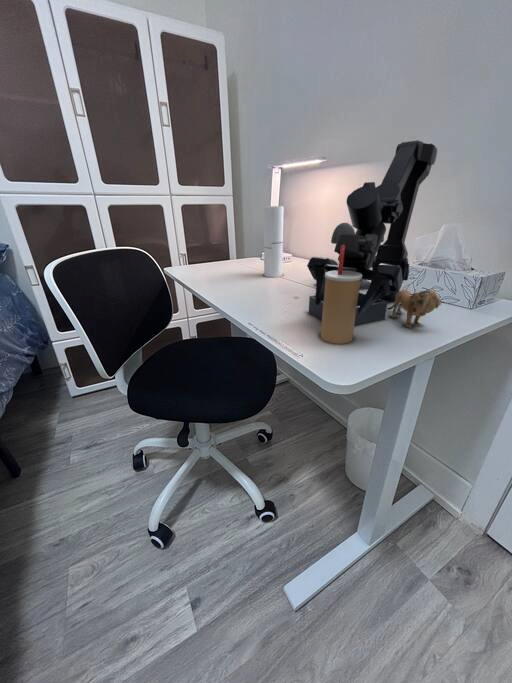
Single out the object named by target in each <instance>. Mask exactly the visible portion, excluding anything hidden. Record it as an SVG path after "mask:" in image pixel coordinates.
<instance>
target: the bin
mask: <svg viewBox="0 0 512 683" xmlns="http://www.w3.org/2000/svg"><path fill="white" fill-rule="evenodd" d="M365 295H366V293H364V292H361V291H359V294H358V301H357V308H356V316H355V323H354V327H355V326H360V325H363V324H368V323H374V322H379V321H383V320H385V319H386V314H387V310H388V309H387V308H388V303H389V302H387V301H384V300H381V299H378V300H377V301H376V302H374V303H373V304H372V305H371V306H370V307H369V308H367V309H366V310H365V311H364V312H363V313H362V314H359V313H358V310H359V307H360V304H361V302H362V300H363V298H364V297H365ZM315 297H316V294H315V295H309V296H308V298H309V299H308V314H309V315H311V316H314V317H315V318H317V319H319V320H321V321H322V314H323V303H324V297H323V299H322V301H321V302H320V303H319V305H316V304H315Z"/></svg>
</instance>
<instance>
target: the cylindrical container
mask: <svg viewBox="0 0 512 683" xmlns="http://www.w3.org/2000/svg"><path fill="white" fill-rule="evenodd" d="M284 208H285V207H284V206H282V205H272V206H269V205H267V206H266V205H265V206H263V246H264V247H263V273H264V274H263V276H264V277H268V278H279V277H282V276H283V256H284V255H283V251H284V250H283V249H284V243H283V242H284V212H285V211H284Z"/></svg>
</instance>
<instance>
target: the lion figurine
mask: <svg viewBox="0 0 512 683" xmlns="http://www.w3.org/2000/svg"><path fill="white" fill-rule="evenodd" d="M442 303H443V300H441V299H440V298H439V297H438V295H437V291H436V290H434V289H427V290H422V291H419V292H415V293H413V294H411V293H410V291H409V290H407V289H402V290H399V292H398V293H397V295H396V298H395V301H394V304H393V305H392V306H389V307H387V309H386V310H388V311H391V310H392V314H391V316H390V318H393V319H395V318H397V315H396V313H397V314H401V315H402V314H403V311H402V309H403V310H404V311H406V321H405V325H404V326H405V328H412V319H413V316H414V319H413V325H414V326H416V327H420V326H421V323H420V322H419V319H420V318H421V317H425V316H426V314H430V313H431V312H433V311H434V310H438V308H439V307H440V306H441V305H442Z"/></svg>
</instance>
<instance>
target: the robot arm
mask: <svg viewBox="0 0 512 683" xmlns="http://www.w3.org/2000/svg"><path fill="white" fill-rule="evenodd" d="M437 156H438V148H437V147H436V145H435V144H433V143H426V142H423V141H422V140H419V139H418V140H412V141H411V140H410V141H402V142H401V143H398V144H397V146H396V149H395V154H394V157H393V159H392V160H391V163H390V164H389V166H388V168H387V171H386V172H385V175H384V177H383V178H382V181H381V182H380V184H378V186H376V182H375V181H369V182H368V181H367V182H364V183H363V185H362V186H360V187H358V188H356V189H354V190H353V191H352V192H351V193H350V194H348V195H347V197H346V206H347V210H348V213H349V218H350V221H351V226H352V227H353V229H356V231H355V235H347V234H340V235H339V236H338V239H337V243H336V244H335V247H334V250H333V251H334V253H336V254H338V257H337V259H338V261H339V259H340V249H341V245H345V253H344V262H343V270H347V271H355V272H358V273H361V274H362V279H363V280H367V281H369V282H371V284H370V287H369V289H367V291H366V293H365V294H366V295H365V297H364V298H363V300H362V302H361V304H360V307H359V310H358V313H359V314H362V313H363V312H364V311H365V310H366V309H367V308H369V307H370V306H371V305H372V304H373V303H374V302H376V301H377V300H378V299H381V300H384V301H387V302H388V303H390V302H395V298H396V295H397V293H398V292H399V291H401V288H402V286H403V285H402V284H403V282H404V281H408V280H409V274H410V263H409V258H408V256H409V252H408V248H407V246H406V243H405V242H406V238H407V235H408V230H409V227H410V223H411V218H412V215H413V211H414V208H415V205H416V204H415V203H416V199H417V196H418V192H419V189H420V186H421V184H422V183H423V182H424V181H425V180H426V178H427V177H428V176H429V175H430V173H431V169H432V167H433V166H434V165H435V163H436V160H437ZM386 224H387V225H388V224H389V225H390V226H389V229H388V233H387V238H386V240H385V235H386V232H387V226H386ZM329 259H330V257H323V256H312V257H310V258H309V260H308V263H307V264H306V267H307V269H308V270H309V273H310V274H311V277H312V278H313V280H314V281H316V282H315V285H316V286H315V295H316V297H315V304H316V305H319V303H320V302H321V301H322V299H323V297H324V291H325V280H326V277H325V273H326V272H328V271H334V270H338V268H339V265H338V266H337V265H331V263H330V260H329ZM372 263H373V266H372V268H370V267H371V265H372Z"/></svg>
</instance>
